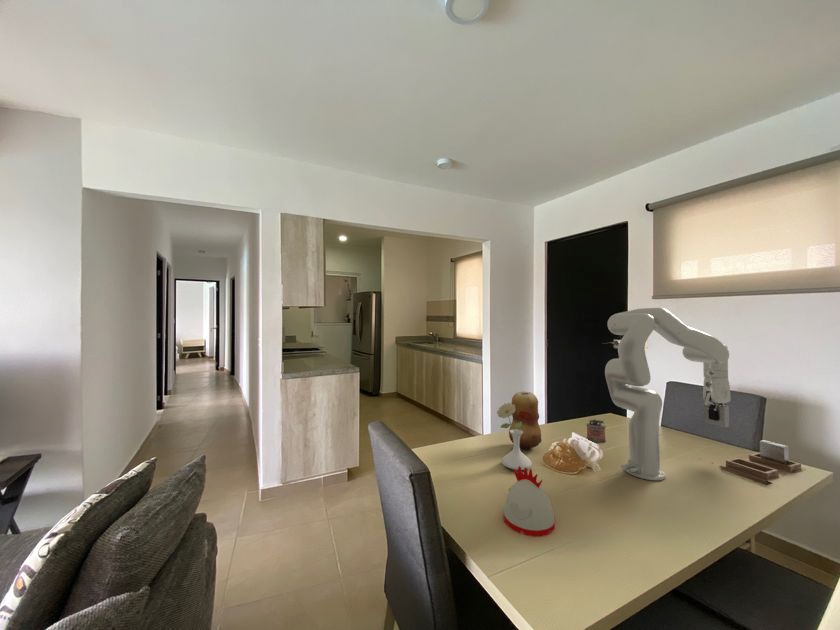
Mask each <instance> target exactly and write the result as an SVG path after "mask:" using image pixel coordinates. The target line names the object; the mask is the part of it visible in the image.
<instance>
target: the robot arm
mask: <svg viewBox="0 0 840 630" xmlns="http://www.w3.org/2000/svg"><path fill="white" fill-rule="evenodd" d="M607 328H608V330H609V331H610V333H611V334H613V335H618V336H622V338H621V340H620V341H619V342H618V343H619V344H618V345H617V353H618V358H612V359H610V360H609V361H608V362H606V365H605V368H604V376H605V381H606V384H607V388H608V392H609V395H610V398H611V401H612V402H613V404H614V405H615V406H617V408H618V407H619V408H621V409H625V410H628V411H631V412H633V414H632V416H631V418H630V419H629V421H628V451H629V452H628V454H629V455H628V456H629V457H628V459H627V462H626V463H625V464H622V465H621V466H620V468H621V470H622V471H624V472H625V471H626V473H628V475H631V476H634V477H637V478H639V479H643V480H648V481H663V480H664V479H666V473H665V472H664V471H663V470H662V469H661V460H660V458H661V457H660V456H661V455H660V453H661V452H660V451H661V449H660V420H661V419H660V418H661V417H660V416H661V412H662V408H663V400H662V399H663V398H662V397H661V396H660V394H659V393H657V392H656V391H654V390H652V389H649V388H644V387H645V386H648V385H649V383H650V382H651V373H650V367H649V364H648V360H647V355H646V350H645V346H646V343H647V341H648V339H649V337H650V335H651V334H652V333H653V331H654V332H656V333H657V334H659V335H660V336H661V337H663V339H665V340H666V341H667V342H668V343H671V344H673V345H676V346H680V347H682V348H683V349H682V356H683V357H684V358H685V359H686V360H687V361H691V362H696V363H703V364H702V366H703V368H702V369H703V377H704V378H703V385H702V387H703V388H702V389H703V390H702V396H703V400H704V403H705V405H707V406H708V414H709V419H711V420H715V421H718V420H719V411H717V405H718V404H719V405H724V406H726V404H727V403H730V402H731V400H732V398H731V397H732V396H731V386H730V381H729V358H730V353H729V350H728V346H727V345H726V344H724V342H723V343H722V341H720V340H719V339H718V338H716V337H715V336H713V335H711V334H709V333H706V332H703V331H700V330H698V329H695V328H693V327H690V326H687V325H686V324H685V323H684V322H683V321H682V320H680V319H679V318H678V317H676V315H674V314H673V313H672V312H670V310H668V309H666V308H663V307H644V308H643V307H642V308H641V307H640V308H636V309H630V310H627V311H622V312H618V313H614V314H613V315H611V316H610V317H609V318H608V320H607ZM713 404H714V405H713Z"/></svg>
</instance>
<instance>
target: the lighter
mask: <svg viewBox="0 0 840 630" xmlns="http://www.w3.org/2000/svg"><path fill="white" fill-rule="evenodd" d="M588 420H589V421H588V423H586V439H587V438H588V439H589V440H588V441H590V440H592V441H591V442H597V443H607V440H606V428H607V427H606V425H605V424H604V423H605V421H604V420H602V419H596V418H593V419H591V418H590V419H588Z"/></svg>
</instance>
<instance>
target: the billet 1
mask: <svg viewBox="0 0 840 630" xmlns="http://www.w3.org/2000/svg"><path fill="white" fill-rule="evenodd" d="M713 405H714V404H713ZM717 411H719V420H718V421H715V420H711V419H709V414H708V406H707V405H705V402H703V420H704V421H703V423H705V424H709V425H713V426H718V427H721V428H728V427H729V428H730V406H729V405H725V406H724V405H719V404H718V405H717Z"/></svg>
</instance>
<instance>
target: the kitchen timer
mask: <svg viewBox="0 0 840 630" xmlns="http://www.w3.org/2000/svg"><path fill="white" fill-rule="evenodd" d="M528 470H529V471H528ZM513 472H514V476H515V477H516V480H517V481H516V482H515V483H514V484H512V485H511V487H510V488H508V493H507V496H506V498H505V499H506V500H505V502H504V506H503V511H502V513H503V520H504V523H505V524H506V526H507V527H508V528H510V529H511V530H513V531H514V532H516V533H518V534H522V535H524V536H527V537H535V538H537V537H545V536H548V535H550V534H552V532H554V530H555V526H556V525H555V523H556V522H555V519H556V518H555V514H554V510H553V506H552V503H551V501H550V498H549V496H548V495H547V492H546V490H545V489H544V488H543V487H542V486H541V484H542V482H543V479H541V480H540V481H539V482H537V478H538V474H535V475H533V469H532V468H529V469H527V468H525V469H524V470H521V467H520V466H519V467H518V470H516V469H514V470H513Z"/></svg>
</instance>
